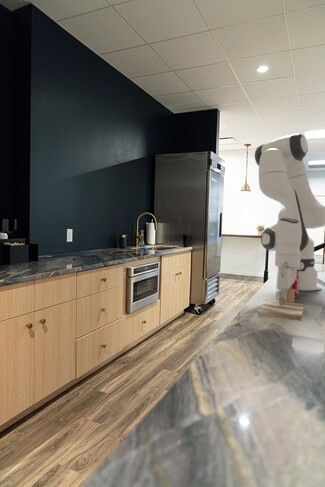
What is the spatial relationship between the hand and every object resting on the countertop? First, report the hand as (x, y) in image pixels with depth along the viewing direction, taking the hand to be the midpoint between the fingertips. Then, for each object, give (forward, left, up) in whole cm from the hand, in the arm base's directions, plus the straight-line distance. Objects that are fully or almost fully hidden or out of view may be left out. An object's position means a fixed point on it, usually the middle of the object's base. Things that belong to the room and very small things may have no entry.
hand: (286, 297), depth 123 cm
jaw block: (0, 0, -2) cm, 2 cm away
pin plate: (+14, 0, -2) cm, 14 cm away
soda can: (-13, 0, -2) cm, 13 cm away
